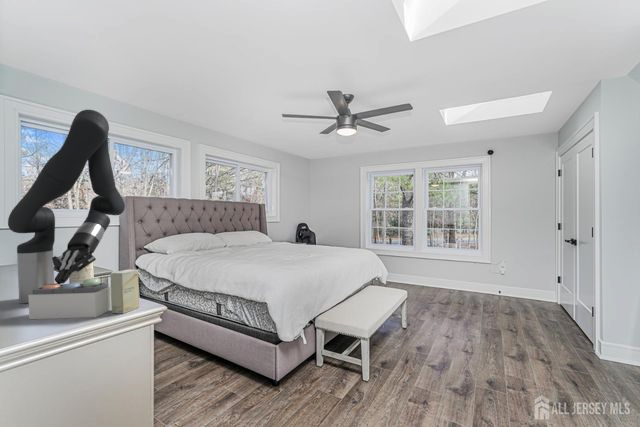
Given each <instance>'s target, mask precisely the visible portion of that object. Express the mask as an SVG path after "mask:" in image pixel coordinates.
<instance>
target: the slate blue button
mask: <svg viewBox="0 0 640 427" xmlns="http://www.w3.org/2000/svg"><path fill="white" fill-rule="evenodd" d="M63 284H64V285H63V288H75V287H78V286H80V283H69V282H68V283H66V284H65V283H63Z"/></svg>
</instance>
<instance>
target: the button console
mask: <svg viewBox="0 0 640 427" xmlns="http://www.w3.org/2000/svg"><path fill="white" fill-rule="evenodd" d="M64 284H65V283H63V284H60V287H56V288H53V289H42V287H40V288H37V289H33V290H32V293H33V294H31V295H28V297H29V303H28V316H29V317H28V319H29V320H47V319H49V320H50V319H82V318H85V319H86V318H97V317H99V316H101V315H103V314H105V313H107V312H109V311H112V308H111V286H109V282H100V285H99V286H96V287H91V288H83V284H80V286H78V287H75V288H63V285H64Z"/></svg>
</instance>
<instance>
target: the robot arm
mask: <svg viewBox="0 0 640 427" xmlns="http://www.w3.org/2000/svg"><path fill="white" fill-rule="evenodd" d="M109 130H110V124H109V121H108V120H107V118H106V117H105V116H104V115H103V114H102V113H101V112H99V111H96V110H94V109H83V110H81V111H79V112H78V113H77V114H76V115H75V116H74V118H73V120H72V122H71V124H70V128H69V132H68V133H67V136H66V138H65V140H64V142H63V144H62V146H61V147H60V148H59V150H57V152H55V153H54V154H53V155H52V156H51V157H50V158H49V159H48V161H47V162H46V163H45V164H44V165H43V168H41V170H40V171H39V173H38V176H37V177H36V179H35V180H34V182H33V183H32V185H31V187H30V188H28V191H27V192H26V193H25V194H24V196H23V197H22V198H21V199H20V200H19V201H18V202H17V204H16V205H15V206H14V207H13V209H12V210H11V212H10V214H8V219H7V226H8V228H9V229H10V231H11V232H13V233H16V234H32V233H34V234H33V237H32V238H31V239H29V240H27V241H24V242H22V243H20V244H18V245H17V247H16V254H17V255H16V258H17V260H16V261H17V280H18V282H17V283H18V303H19V304H29V297H28V295H31V294H33V293H32V290H33V289H37V288H40V287H42V286H43V285H47V284H54V283H58V284H65V283H66V282H67V281H69V277H70V275H71V274H72V273H74V271H77V272H78V271H80V270H82V269H83V268H85V267H86V266H88V265H89V264H90V263H92V262H93V263H94V261H95V262H96V257H95V256H94V252H95V251H96V249H97V247H98V246H99V244H100V243H101V241H102V239H103V237H104V234H105V232H106V231H107V229H108V228H109V225H110V223H111V218H110V217H109V216H120V215H121V214H122V213H124V212H125V208H126V206H125V205H126V204H125V201H124V199H123V196H122V195H121V194H120V193H121V192H119V190H118V188H117V186H116V182H115V176H114V172H113V171H114V170H113V167H112V162H111V158H110V152H109V151H110V149H109ZM86 165H87V166H88V174H89V175H88V177H89V180H90V185H91V188H92V191H93V193H94V194H96V195H97V196H95V197H93V198H92V199H91V201H90V207H89V211H88V214H87V217H86V218H85V220H84V221H83V223H82V224H81V225H80V226H79V227H78V228H77V230H76V231H75V233H74V234H73V236H72V237H71V238H70V240H69V241H68V243H67V245H66V246H67V249H66V250H65V251H64V252H62V254H61V255H59V256H57V255H55V256H54V243H55V238H56V237H55V236H56V235H55V234H56V217H55V213H54V211H53V210H52V209H51V208H49V207H47V206H46V205H47V204H50V203H51V202H53V201H55V200H57V199H58V198H61V197H62V196H64V195H66V194H67V193H68V192H70V191H71V190H72V189H73V187H74V185H76V183H77V182H78V179H79V178H80V176H81V174H82V173H83V171H84V169H85V167H86ZM92 253H93V255H92ZM81 264H82V265H81ZM80 265H81V266H80ZM79 266H80V267H79ZM55 270H57V272H58V273H57V274H56V276H55Z"/></svg>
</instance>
